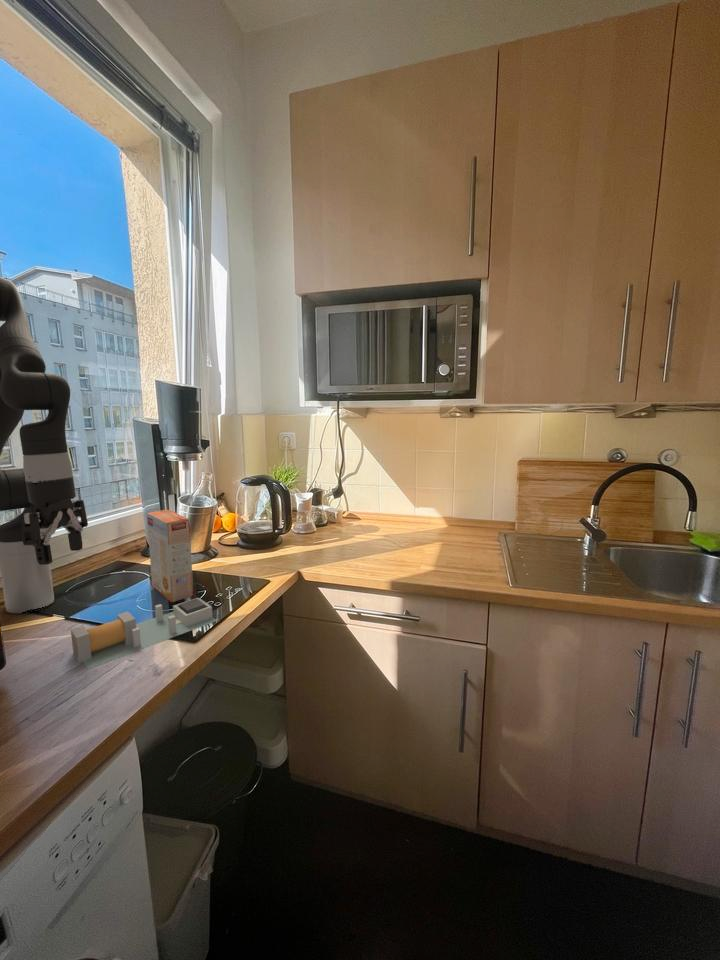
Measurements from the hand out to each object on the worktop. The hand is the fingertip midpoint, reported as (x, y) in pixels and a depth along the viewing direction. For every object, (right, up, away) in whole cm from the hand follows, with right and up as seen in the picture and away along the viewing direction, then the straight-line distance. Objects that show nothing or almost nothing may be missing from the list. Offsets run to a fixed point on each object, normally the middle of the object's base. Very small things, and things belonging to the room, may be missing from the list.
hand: (61, 556), depth 83 cm
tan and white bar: (+10, -18, -1) cm, 20 cm away
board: (+15, -18, +4) cm, 24 cm away
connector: (+22, -16, +11) cm, 29 cm away
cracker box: (+11, -14, +25) cm, 31 cm away
